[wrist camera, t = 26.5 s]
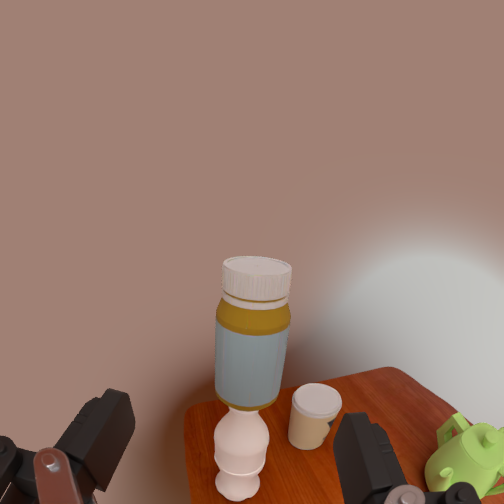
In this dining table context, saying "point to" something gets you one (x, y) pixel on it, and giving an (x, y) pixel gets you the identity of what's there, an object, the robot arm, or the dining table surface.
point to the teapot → (467, 457)
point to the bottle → (251, 331)
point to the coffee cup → (312, 415)
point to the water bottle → (240, 453)
